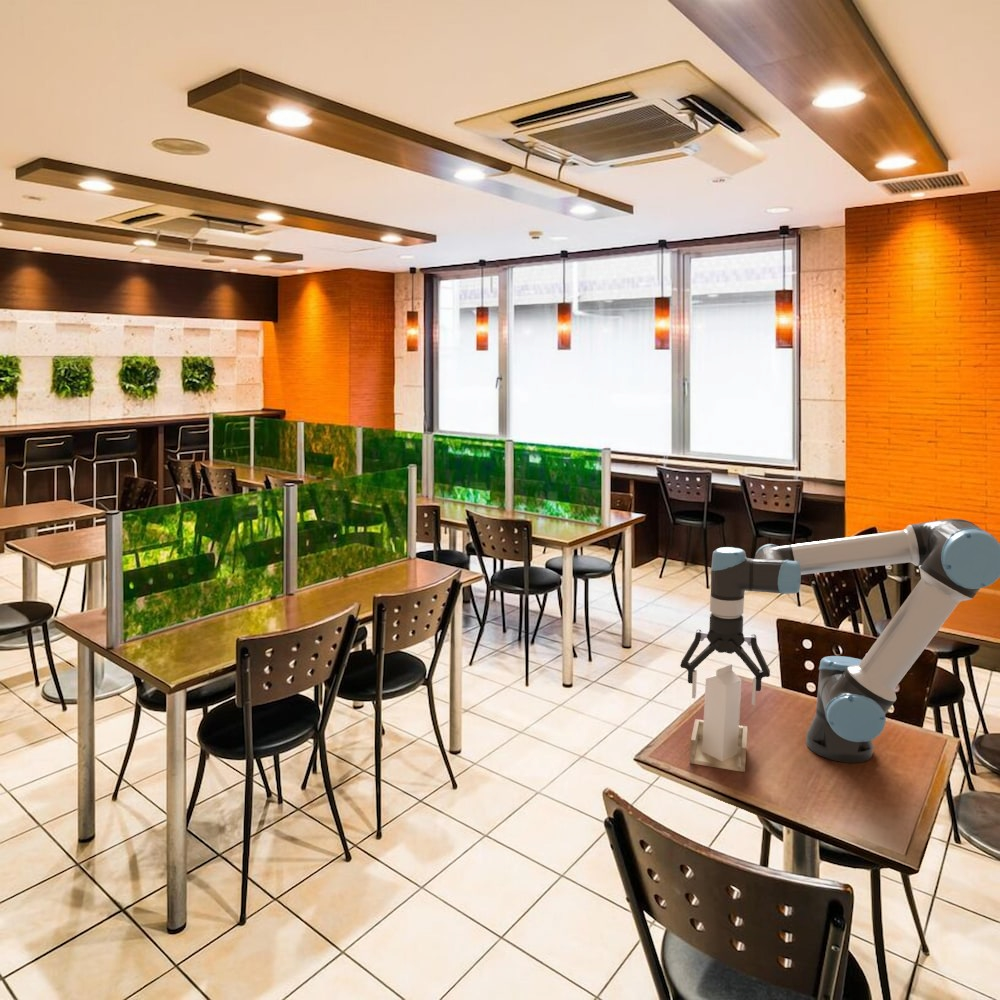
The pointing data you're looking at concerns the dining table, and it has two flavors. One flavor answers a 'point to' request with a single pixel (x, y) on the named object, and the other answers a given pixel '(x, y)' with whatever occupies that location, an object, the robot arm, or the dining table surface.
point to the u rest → (706, 760)
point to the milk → (722, 714)
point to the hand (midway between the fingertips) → (723, 699)
